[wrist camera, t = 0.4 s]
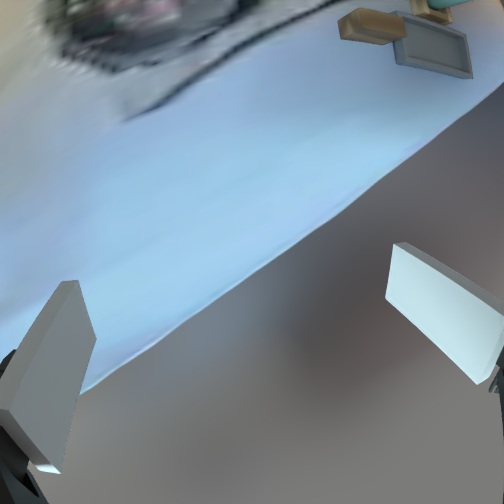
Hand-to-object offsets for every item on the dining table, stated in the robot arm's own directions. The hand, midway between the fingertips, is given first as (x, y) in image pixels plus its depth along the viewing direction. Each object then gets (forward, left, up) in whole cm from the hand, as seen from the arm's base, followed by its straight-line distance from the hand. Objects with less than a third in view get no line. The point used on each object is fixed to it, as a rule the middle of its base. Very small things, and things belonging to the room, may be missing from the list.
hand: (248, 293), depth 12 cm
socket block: (-29, +39, -27) cm, 56 cm away
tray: (-20, +38, -27) cm, 51 cm away
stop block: (-20, +24, -27) cm, 41 cm away
